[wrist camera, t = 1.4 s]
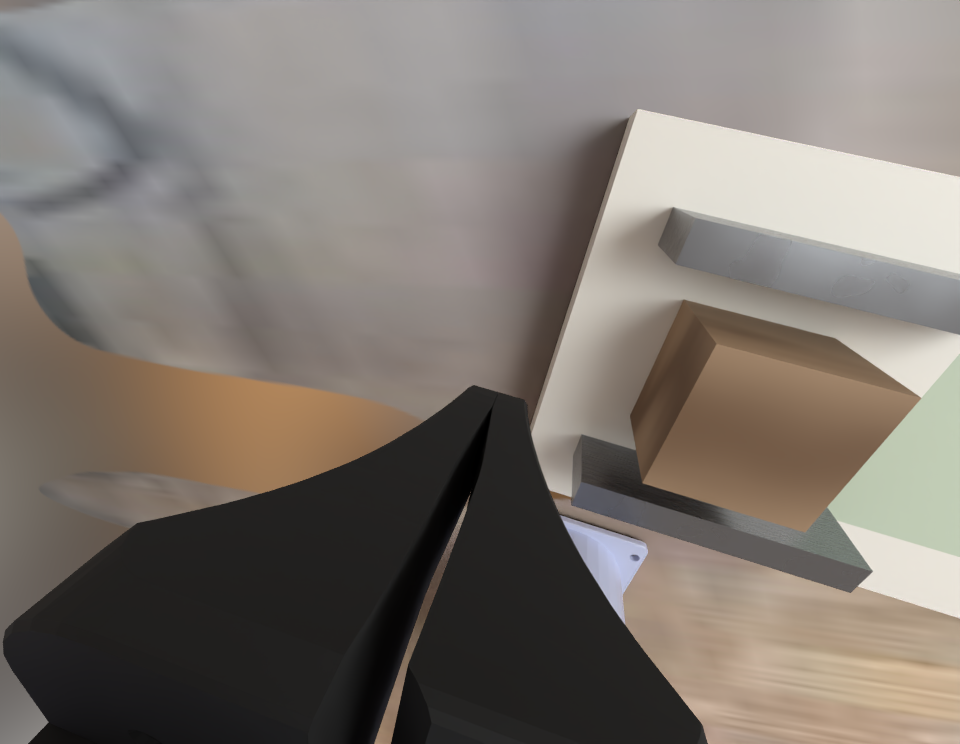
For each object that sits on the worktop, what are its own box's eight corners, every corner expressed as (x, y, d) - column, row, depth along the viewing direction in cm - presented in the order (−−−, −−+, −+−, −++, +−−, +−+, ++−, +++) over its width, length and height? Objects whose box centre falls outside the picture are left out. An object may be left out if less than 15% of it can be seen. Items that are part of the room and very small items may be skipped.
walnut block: (756, 452, 16) (804, 532, 13) (629, 415, 17) (642, 483, 13) (835, 338, 14) (921, 397, 10) (683, 299, 14) (716, 343, 11)
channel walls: (809, 526, 17) (850, 592, 14) (573, 455, 18) (571, 505, 15) (1016, 287, 12) (1138, 322, 9) (673, 207, 13) (695, 217, 10)
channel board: (1070, 613, 19) (1133, 672, 17) (523, 447, 21) (516, 480, 19) (1539, 312, 12) (1760, 346, 9) (629, 117, 14) (638, 109, 12)
